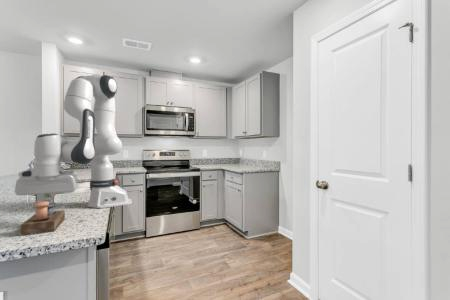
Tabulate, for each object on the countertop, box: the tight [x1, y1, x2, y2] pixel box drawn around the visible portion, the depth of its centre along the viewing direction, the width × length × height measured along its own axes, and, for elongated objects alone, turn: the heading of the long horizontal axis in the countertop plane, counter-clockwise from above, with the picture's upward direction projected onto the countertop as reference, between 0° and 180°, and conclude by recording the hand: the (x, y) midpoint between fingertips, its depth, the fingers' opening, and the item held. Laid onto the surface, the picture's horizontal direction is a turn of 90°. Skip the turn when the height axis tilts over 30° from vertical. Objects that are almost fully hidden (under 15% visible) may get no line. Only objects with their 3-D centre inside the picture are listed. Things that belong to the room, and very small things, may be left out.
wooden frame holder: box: [20, 210, 66, 237], centre depth 89 cm, size 10×16×4 cm, turn 25°
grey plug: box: [47, 202, 56, 216], centre depth 93 cm, size 5×5×6 cm
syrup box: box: [34, 194, 55, 203], centre depth 118 cm, size 6×6×14 cm
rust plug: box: [32, 201, 49, 220], centre depth 85 cm, size 5×5×6 cm
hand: (47, 204), depth 92 cm, fingers closed, pressing on grey plug
